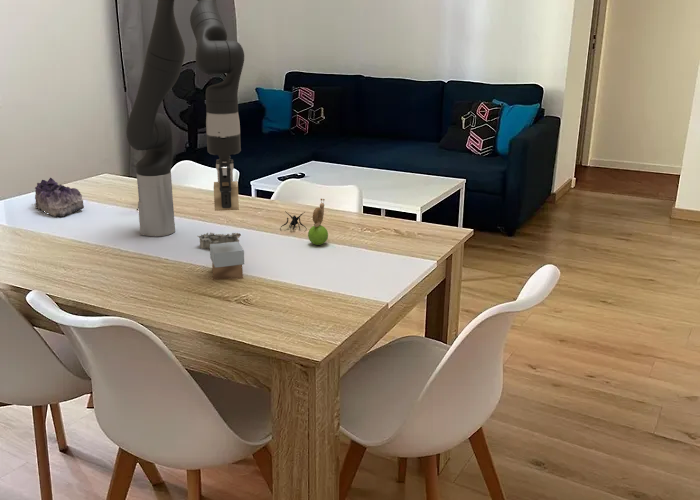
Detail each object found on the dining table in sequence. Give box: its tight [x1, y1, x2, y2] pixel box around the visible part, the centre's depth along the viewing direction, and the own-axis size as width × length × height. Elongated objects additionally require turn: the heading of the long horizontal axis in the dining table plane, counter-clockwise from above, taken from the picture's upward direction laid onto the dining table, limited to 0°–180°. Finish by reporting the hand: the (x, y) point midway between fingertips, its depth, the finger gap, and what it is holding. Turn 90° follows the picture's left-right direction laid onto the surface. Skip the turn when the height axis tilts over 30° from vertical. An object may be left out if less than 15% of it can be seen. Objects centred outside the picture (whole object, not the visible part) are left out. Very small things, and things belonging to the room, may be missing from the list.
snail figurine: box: [307, 198, 329, 246], centre depth 195 cm, size 5×6×12 cm
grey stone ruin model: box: [197, 232, 242, 249], centre depth 194 cm, size 10×7×4 cm
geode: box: [34, 177, 85, 218], centre depth 225 cm, size 20×12×10 cm, turn 49°
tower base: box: [211, 261, 244, 281], centre depth 175 cm, size 7×7×4 cm
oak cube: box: [213, 180, 240, 212], centre depth 169 cm, size 6×6×6 cm
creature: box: [279, 210, 308, 233], centre depth 209 cm, size 8×5×8 cm
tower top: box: [209, 241, 246, 268], centre depth 174 cm, size 7×7×4 cm
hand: (226, 203), depth 170 cm, fingers closed on oak cube, 5 cm apart
